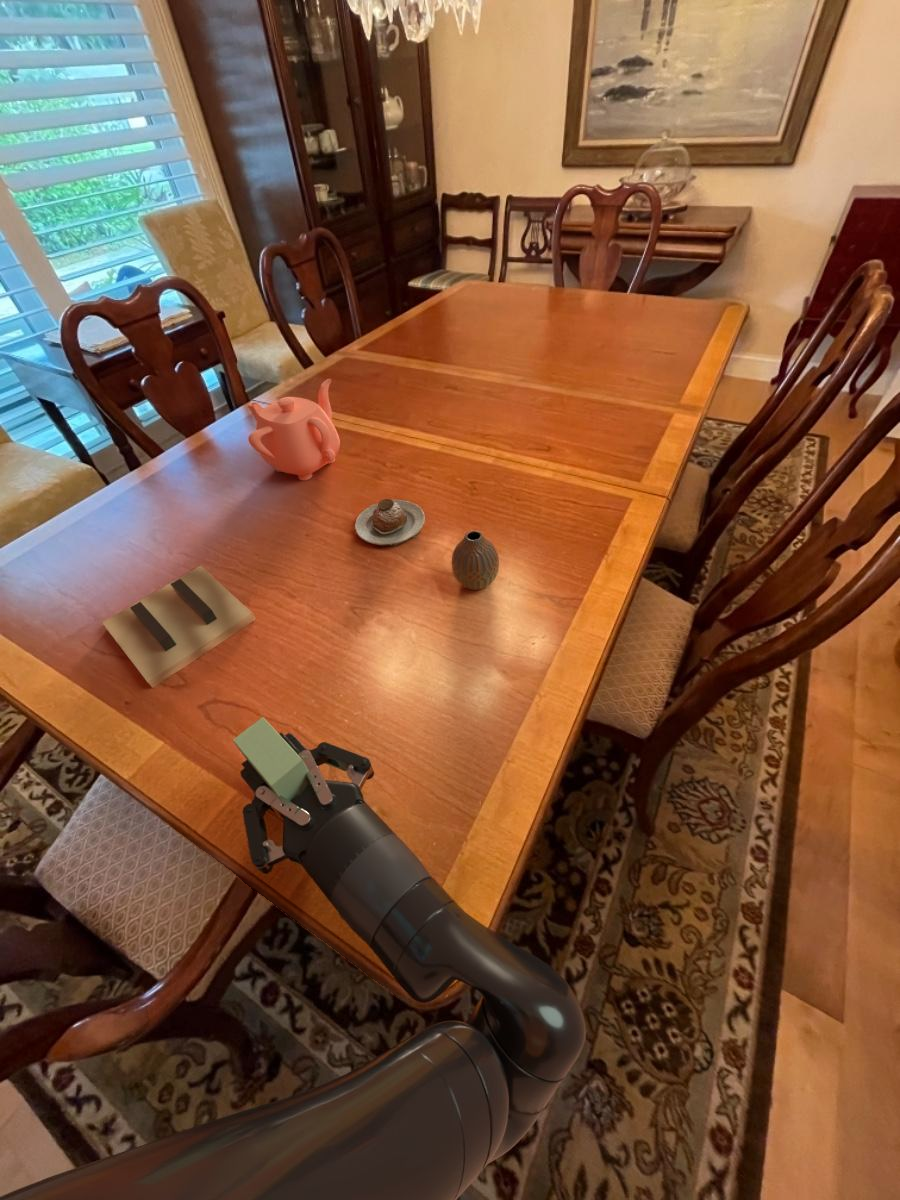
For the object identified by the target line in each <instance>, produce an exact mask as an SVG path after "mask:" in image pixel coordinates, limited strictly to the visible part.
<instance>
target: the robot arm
mask: <svg viewBox="0 0 900 1200" xmlns="http://www.w3.org/2000/svg"><path fill="white" fill-rule="evenodd" d="M278 734H279V735H280V736H281V737H282V738H283V739H284V740H285V741H286V742H287V744H288V745H289V746H290V747H291V748H292V749H293V750H294V751H295V752H296V753H297V754H298V756H299V757H300V758H301V759H302V760H303V762H304V764H305V765H306V767H307V769H308V770H309V771H308V772H307V773H306V774H307V776H308V778H309V780H310V782H311V783H310V784H309V785H308V786H307V787H306V788H305V789H304V791H303V792H302V793H301V794H300V795H298V796H296V797H295V798H293V799H292V800H291V801H289V800H287V799H286V798H284V797H283V796H279V797H278V796H277V795H276V794H275V793H274V791H272V790H271V789H270V787H269V786H268V785H267V783H266V782H265V781H264V779H263V778H262V777H261V776H260V775H259V773H258V772H257V771H256V770H255V769H254V767H253V766H252V765H251V764H250V763H249V761H248V760H247V759H245V761H243V762H242V763H241V766H242V767H243V768H242V769H241V770H240V777H241V778H242V779H243V781H244V782H245V783H246V785H248V787H249V788H250V789H251V790H252V792H253V793H254V796H253V799H252V801H251V802H250V803H247V804H246V805H244V806H243V809H242V817H243V823H244V827H245V833H246V840H247V844H248V850H249V856H250V861H251V864H252V865H253V866H254V867H255V868H256V869H257V870H258V871H260V873H262V874H263V875H267V874H270V873H271V872H272V871H273V869H274V867H275V865H277V864H281V863H282V862H284V861H286V860H289V861H290V862H292V863H296V864H299V865H300V866H301V868H303V870H304V871H305V872H306V874H307V875H308V876H309V877H310V879H311V880H312V882H314V883H315V885H316V887H318V888H319V890H320V891H321V892H322V894H323V895H324V896H325V898H326V899H327V900H328V901H329V902H330V904H331V905H332V907H333V908H334V909H335V911H336V912H337V913H338V916H339V917H340V918H341V919H342V920H343V921H344V922H345V923H346V925H347V926H348V927H349V928H350V930H352V931H353V932H354V933H355V934H356V935H357V936H358V937H359V938H360V939H361V940H362V941H363V942H364V943H366V944H367V946H368V947H369V948H370V949H371V950H372V952H373V953H374V954H375V955H376V957H377V958H378V959H379V961H380V962H381V964H383V966H384V967H385V968H386V970H387V971H388V972H389V973H390V974H391V976H392V977H393V978H394V980H395V981H396V982H397V983H398V984H399V985H400V987H402V989H403V990H404V991H405V993H406V994H407V995H408V996H409V997H411V999H413V1000H414V1001H416V1002H419V1003H420V1004H421V1003H422V1004H426V1003H431V1002H432V1001H434V1000H436V999H438V997H440V996H441V995H442V994H443V993H444V992H445V991H446V990H447V989H449V988H450V986H451V985H453V984H454V983H455V981H458V982H461V983H463V984H465V985H468V986H469V987H472V988H473V989H475V990H476V991H478V992H479V993H480V994H481V995H482V996H481V997H480V999H479V1000H478V1002H477V1003H476V1005H475V1007H474V1008H473V1009H472V1011H471V1013H470V1015H469V1016H468V1017H467V1019H466V1021H460V1020H444V1021H440V1022H436V1023H434V1024H432V1025H429V1026H427V1027H425V1028H422V1029H421V1030H419V1031H418V1032H416V1033H414V1034H412V1035H411V1036H409V1037H407V1038H406V1039H404V1040H402V1041H401V1042H399V1043H398V1044H395V1045H394V1046H392V1047H391V1048H389V1049H387V1050H385V1051H384V1052H383V1053H380V1054H379V1055H377V1056H376V1057H374V1058H372V1059H371V1060H369V1061H367V1062H366V1063H364V1064H362V1065H361V1066H359V1067H357V1068H355V1069H353V1070H350V1071H349V1072H346V1073H345V1074H342V1075H341V1076H338V1077H336V1078H334V1079H332V1080H329V1081H327V1082H325V1083H323V1084H320V1085H317V1086H315V1087H313V1088H310V1089H307V1090H305V1091H302V1092H299V1093H296V1094H293V1095H290V1096H287V1097H284V1098H282V1099H278V1100H274V1101H272V1102H268V1103H265V1104H261V1105H258V1106H255V1107H252V1108H248V1109H245V1110H241V1111H239V1112H235V1113H232V1114H229V1115H225V1116H223V1117H220V1118H217V1119H213V1120H211V1121H208V1122H205V1123H202V1124H198V1125H196V1126H192V1127H189V1128H187V1129H184V1130H181V1131H178V1132H176V1133H173V1134H170V1135H167V1136H164V1137H162V1138H159V1139H156V1140H154V1141H153V1140H152V1141H150V1142H147V1143H144V1144H142V1145H138V1146H136V1147H133V1148H130V1149H127V1150H124V1151H121V1152H118V1153H115V1154H112V1155H109V1156H106V1157H104V1158H101V1159H97V1160H95V1161H92V1162H88V1163H86V1164H83V1165H79V1166H77V1167H75V1168H71V1169H69V1170H66V1171H63V1172H59V1173H57V1174H54V1175H52V1176H48V1177H46V1178H43V1179H41V1180H38V1181H36V1182H33V1183H30V1184H28V1185H25V1186H23V1187H20V1188H17V1189H15V1190H13V1191H10V1192H7V1193H5V1194H3V1195H0V1200H458V1198H459V1197H460V1196H461V1195H463V1194H464V1192H465V1191H466V1190H467V1189H468V1188H469V1187H470V1186H471V1185H472V1183H473V1182H475V1180H476V1179H477V1178H478V1177H479V1176H480V1175H481V1173H482V1172H483V1171H484V1169H486V1167H487V1165H488V1164H490V1163H492V1162H494V1161H495V1160H497V1159H498V1158H500V1157H502V1156H503V1155H504V1154H506V1153H508V1152H509V1151H510V1150H512V1148H514V1147H515V1146H516V1145H517V1144H518V1143H519V1142H520V1140H521V1139H522V1138H523V1137H524V1136H525V1135H526V1134H527V1133H528V1131H530V1129H531V1128H532V1126H534V1124H535V1123H536V1122H537V1120H538V1119H539V1118H540V1116H541V1115H542V1113H543V1111H544V1110H545V1108H546V1107H547V1105H548V1104H549V1102H550V1100H551V1099H552V1098H553V1096H554V1095H555V1093H556V1091H557V1090H558V1088H559V1087H560V1085H561V1084H562V1082H563V1080H564V1079H565V1077H566V1076H567V1075H568V1073H570V1071H571V1069H572V1067H573V1066H574V1064H575V1063H576V1061H578V1058H579V1056H580V1054H582V1051H583V1048H584V1045H585V1042H586V1039H587V1025H586V1020H585V1019H586V1018H585V1015H584V1011H583V1008H582V1007H581V1004H580V1002H579V999H578V997H577V995H576V994H575V992H574V989H573V988H572V987H571V985H570V984H569V983H568V982H567V980H566V979H565V978H564V977H563V976H562V975H561V974H560V973H559V972H558V971H557V969H555V968H554V967H552V966H551V964H548V963H547V962H545V961H543V960H542V959H541V958H539V957H538V956H536V955H535V954H532V953H531V952H529V951H527V950H525V949H524V948H522V947H520V946H518V945H516V944H515V943H513V942H511V941H510V940H508V939H507V938H505V937H503V936H501V935H500V934H499V933H497V932H495V931H494V930H492V929H491V928H489V926H487V925H485V924H483V923H482V922H480V921H479V920H477V919H475V918H474V917H473V916H471V915H470V914H469V913H467V912H466V911H465V910H464V909H463V908H462V907H461V906H460V904H459V903H457V902H456V901H455V899H453V897H452V896H451V895H450V894H449V893H448V892H447V891H446V890H445V889H444V887H442V886H441V884H440V883H438V881H437V880H436V879H435V878H434V877H433V876H432V875H431V873H429V871H428V870H427V869H426V867H425V865H424V864H423V863H422V861H421V860H420V859H419V857H418V856H417V854H415V853H414V851H412V850H411V848H410V847H409V846H408V845H407V844H406V843H405V842H404V841H403V840H402V839H401V838H400V837H399V836H398V835H397V834H396V832H395V831H393V829H392V828H391V827H390V826H389V825H388V824H387V823H386V822H385V821H384V820H383V819H382V818H381V817H380V816H379V815H378V814H377V813H376V812H375V811H374V809H372V807H371V806H369V804H368V803H367V802H366V801H365V800H364V794H363V792H362V789H363V787H364V785H365V784H366V782H367V780H371V779H372V778H373V777H374V776H375V772H374V768H373V766H372V763H371V761H370V759H369V757H366V756H364V755H361V754H358V753H355V752H354V751H351V750H347V749H345V748H343V747H339V746H337V745H334V744H331V743H330V742H326V741H322V742H320V743H318V744H317V746H316V747H315V748H313V749H308V748H306V747H305V746H304V745H303V743H302V742H301V741H300V740H299V739H298V738H297V737H296V736H295V735H294V734H293V733H290V732H287V733H286V734H284V733H283V732H279V733H278ZM324 764H325V765H328V766H330V767H333V768H335V769H338V770H339V771H340V770H341V771H343V772H346V775H347V777H348V779H349V780H351V782H345V781H337V780H327V779H325V777H324V775H323V773H322V771H321V769H320V767H319V766H322V765H324ZM268 811H270V812H271V813H273V814H274V815H275V816H277V817H278V818H279V819H280V820H281V821H282V824H283V825H282V842H281V843H282V844H281V846H278V845H277V844H276V842H275V841H274V840H273V839H269V835H268V831H267V825H266V821H265V815H266V814H267V812H268Z"/></svg>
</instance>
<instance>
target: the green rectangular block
mask: <svg viewBox="0 0 900 1200" xmlns="http://www.w3.org/2000/svg"><path fill="white" fill-rule="evenodd" d="M279 734H280V733H278V731H277V730H276V729H275V728H274V727H273V726H272V725H271V724H270V723H269V721H267V720H266V718H265V717H264V716H262V717H260V719H258V720H257V721H255V722H254V723H253V724H252V725H250V726H249V727H247V728H246V729H245V730H243V732H241V733H239V734H238V735H237V736H236V737H235V738H233V739H232V742H233V743H234V745H235V746H236V747H237V749H238V750H239V751H240V753H241V754H242V755H243V757H244V758H245V760H248V761H249V763H250V764H251V765H252V766H253V767H254V769H255V770H256V771H257V772H258V773H259V775H260V776H261V777H262V778H263V779H264V781H265V782H266V783H267V785H268V786H269V787H270V789H271V790H272V791H274V793H275V794H276V795H277V796H278V797H279V796H283V797H284V798H286V799H287V800H289V801H291V800H292V799H293V798H295V797H296V796H298V795H300V794H301V793H302V792H303V791H304V789H305V788H306V787H307V786H308V785H309V784H310V783H311V782H310V780H309V778H308V776H307V774H306V773H307V772H308V771H309V770H308V769H307V767H306V765H305V764H304V762H303V760H302V759H301V758H300V757H299V756H298V754H297V753H296V752H295V751H294V750H293V749H292V748H291V747H290V746H289V745H288V744H287V742H286V741H285V740H284V739H283V738H282V737H281V736H280V735H279Z"/></svg>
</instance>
